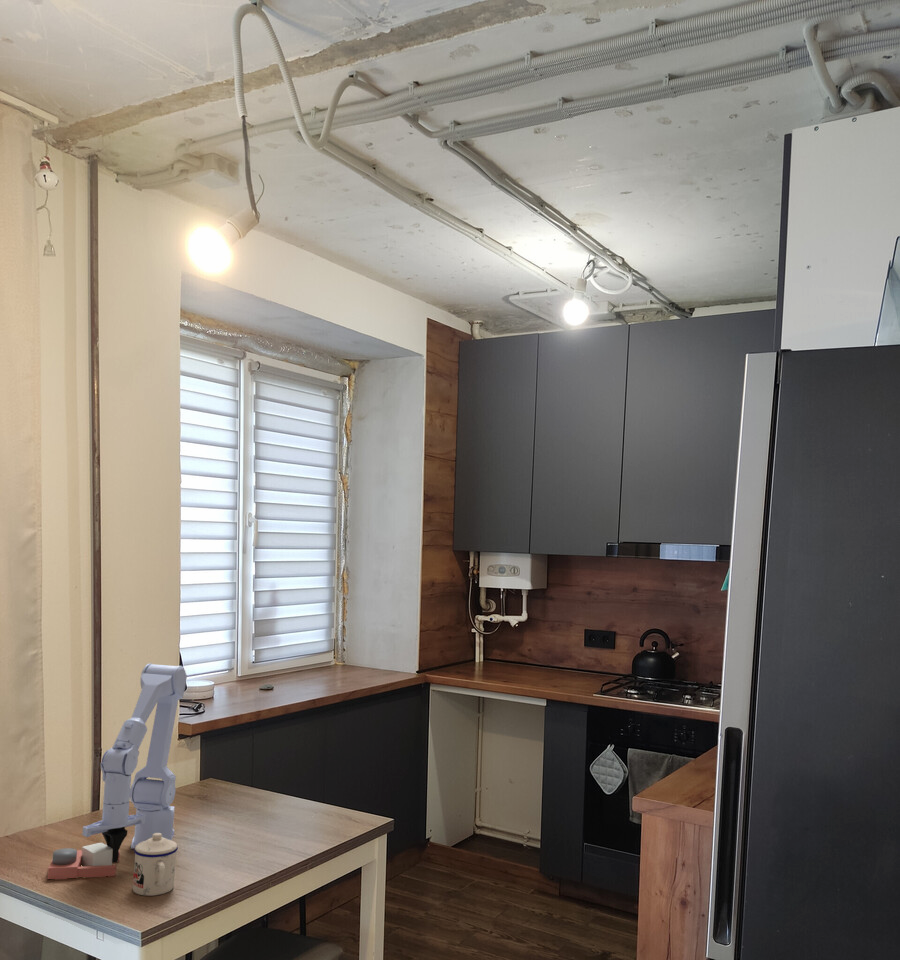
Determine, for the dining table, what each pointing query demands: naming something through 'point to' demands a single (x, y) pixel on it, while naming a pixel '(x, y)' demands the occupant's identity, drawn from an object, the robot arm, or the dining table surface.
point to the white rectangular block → (96, 855)
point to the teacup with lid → (154, 866)
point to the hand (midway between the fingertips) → (112, 861)
